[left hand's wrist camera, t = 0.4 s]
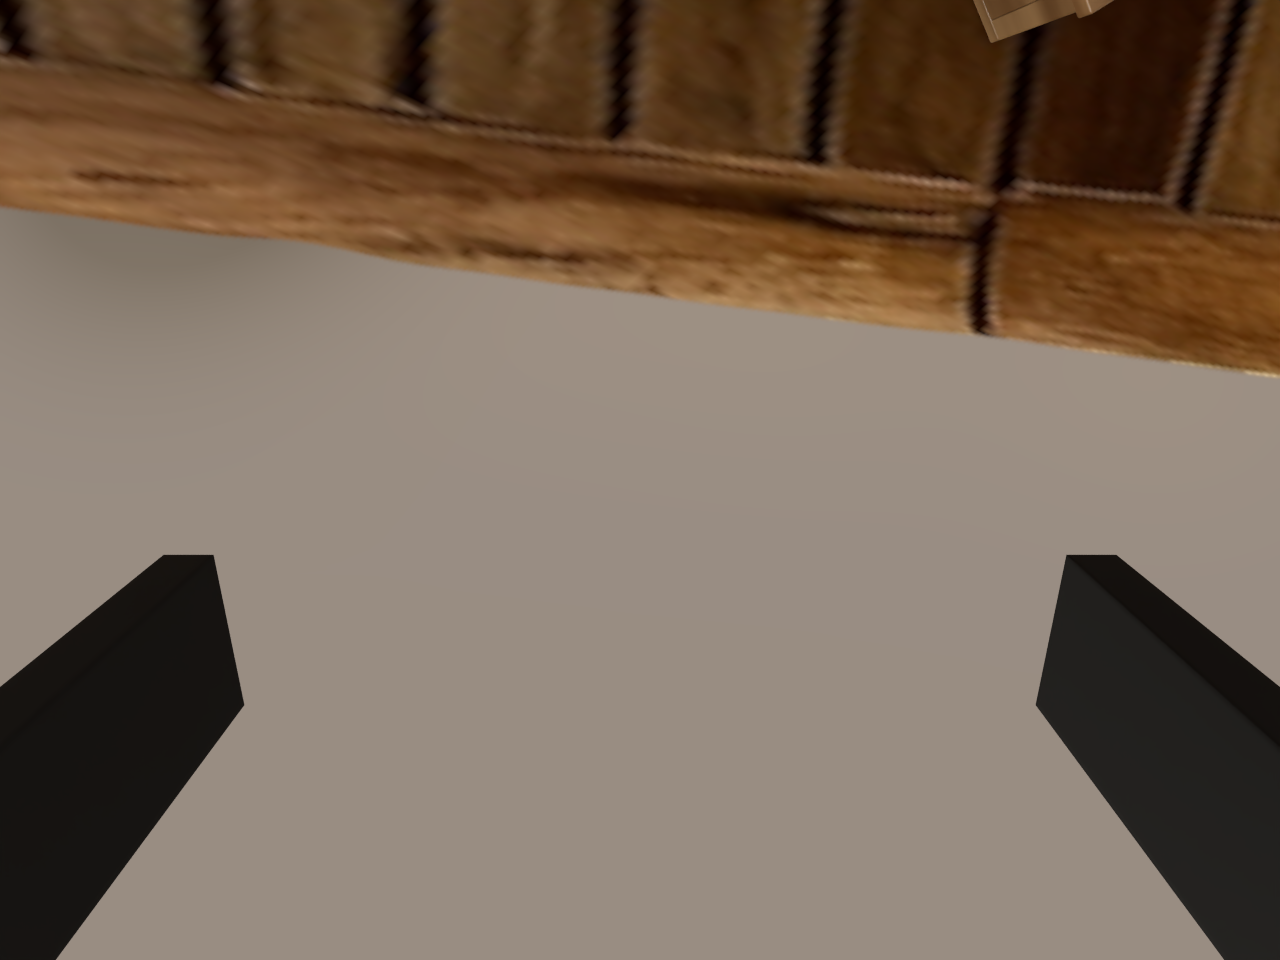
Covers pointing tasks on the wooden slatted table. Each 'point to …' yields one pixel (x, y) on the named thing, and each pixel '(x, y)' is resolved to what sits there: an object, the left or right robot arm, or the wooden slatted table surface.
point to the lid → (1088, 6)
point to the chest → (1019, 15)
